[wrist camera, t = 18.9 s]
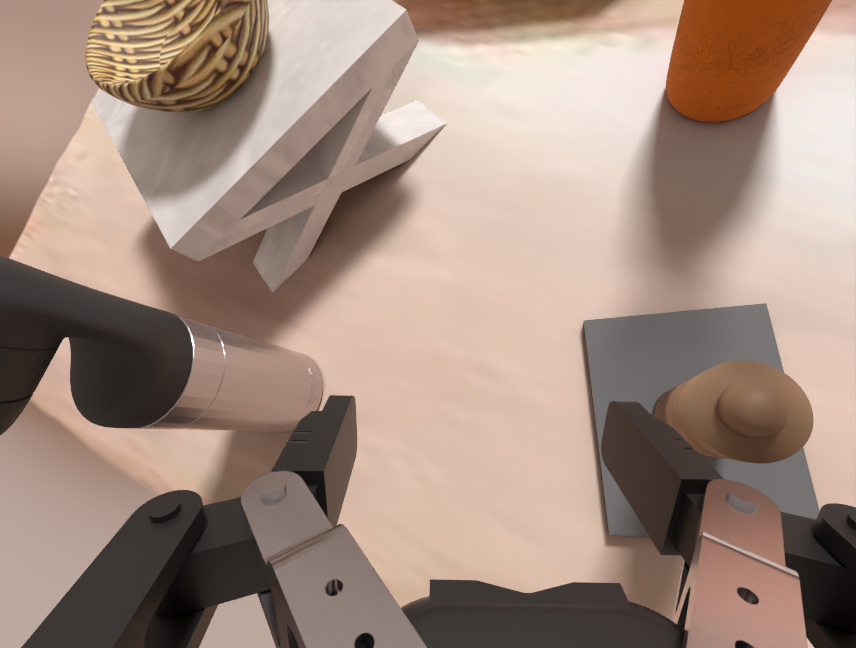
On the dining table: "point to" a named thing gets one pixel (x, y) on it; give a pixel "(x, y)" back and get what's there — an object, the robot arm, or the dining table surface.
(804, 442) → the pepper mill
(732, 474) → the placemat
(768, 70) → the wine bottle
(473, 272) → the dining table surface
